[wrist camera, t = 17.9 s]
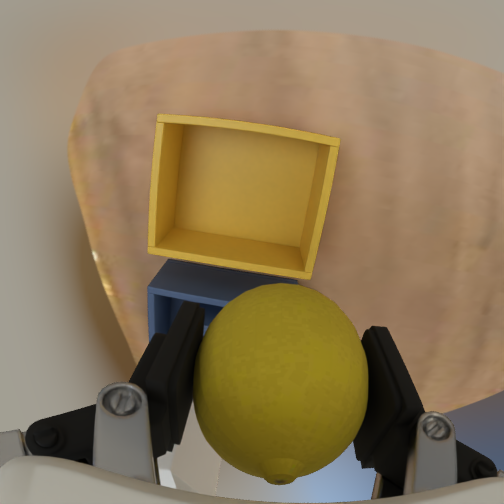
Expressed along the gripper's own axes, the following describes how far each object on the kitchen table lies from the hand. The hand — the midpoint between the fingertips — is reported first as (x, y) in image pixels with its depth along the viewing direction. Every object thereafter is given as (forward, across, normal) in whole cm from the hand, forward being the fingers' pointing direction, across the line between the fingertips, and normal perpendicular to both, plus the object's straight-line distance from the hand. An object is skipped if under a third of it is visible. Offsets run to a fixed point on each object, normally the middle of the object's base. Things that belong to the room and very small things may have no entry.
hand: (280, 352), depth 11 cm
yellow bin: (+17, +3, -2) cm, 18 cm away
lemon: (+3, 0, 0) cm, 3 cm away
